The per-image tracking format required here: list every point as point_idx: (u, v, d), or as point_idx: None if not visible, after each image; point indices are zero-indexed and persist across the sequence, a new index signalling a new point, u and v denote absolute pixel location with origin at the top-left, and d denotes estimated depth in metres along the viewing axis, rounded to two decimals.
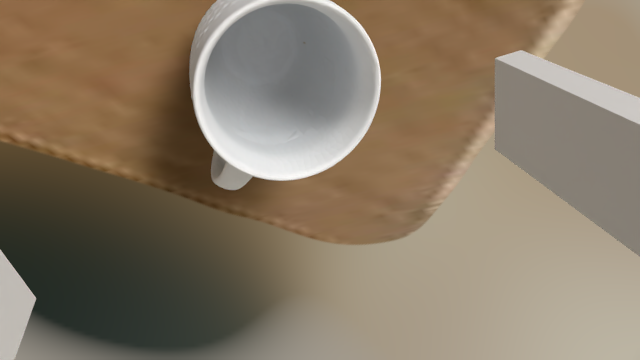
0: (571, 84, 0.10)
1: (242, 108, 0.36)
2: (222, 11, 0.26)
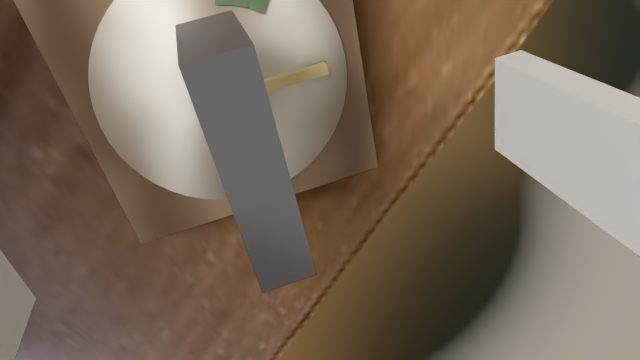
0: (571, 84, 0.10)
1: None
2: None
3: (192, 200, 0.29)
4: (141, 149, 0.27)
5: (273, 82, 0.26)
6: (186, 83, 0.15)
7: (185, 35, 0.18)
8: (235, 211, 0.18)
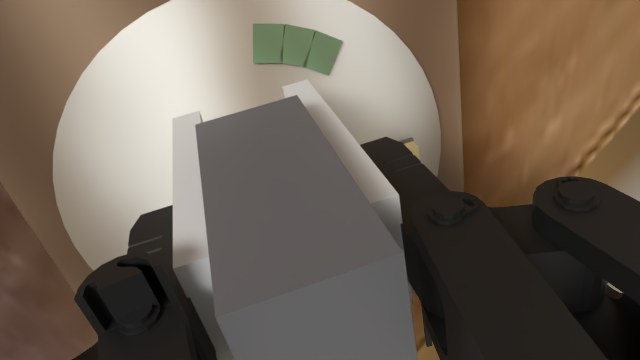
0: (312, 115, 0.11)
1: None
2: None
3: None
4: None
5: None
6: (233, 349, 0.06)
7: (218, 167, 0.09)
8: None
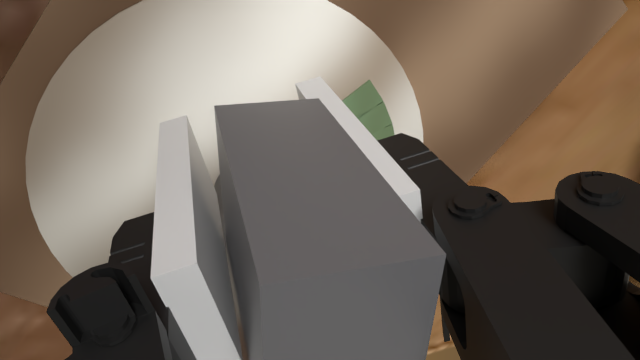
0: None
1: None
2: None
3: (49, 262, 0.17)
4: (69, 152, 0.15)
5: None
6: (264, 323, 0.06)
7: (244, 148, 0.09)
8: None
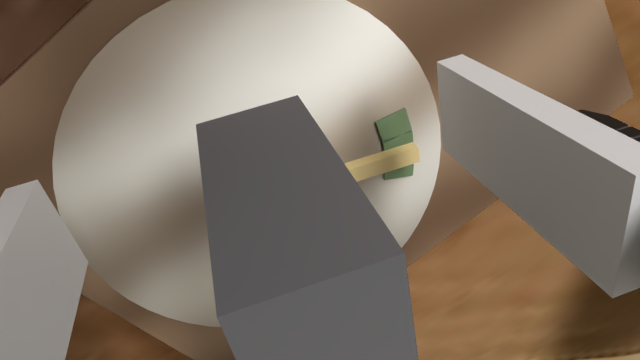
0: (498, 87, 0.11)
1: None
2: None
3: None
4: (108, 113, 0.15)
5: None
6: (234, 349, 0.06)
7: (219, 167, 0.09)
8: None
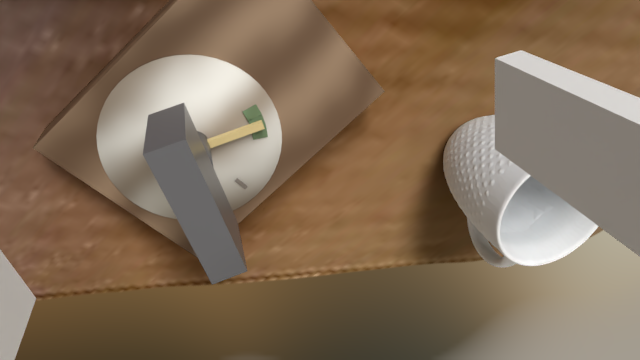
0: (571, 84, 0.10)
1: None
2: (495, 178, 0.38)
3: (96, 163, 0.36)
4: (119, 114, 0.35)
5: (225, 137, 0.36)
6: (148, 163, 0.26)
7: (151, 126, 0.29)
8: (187, 233, 0.28)
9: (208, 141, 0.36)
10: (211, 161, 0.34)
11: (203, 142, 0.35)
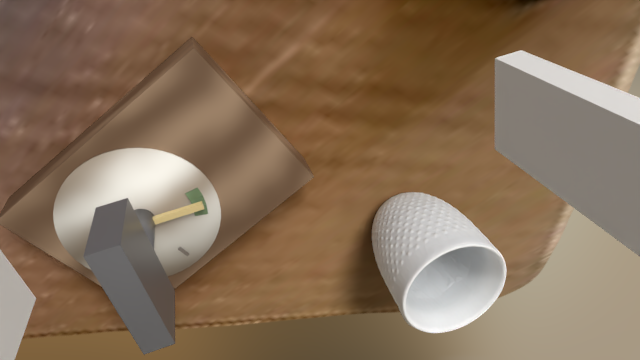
0: (571, 84, 0.10)
1: None
2: (404, 259, 0.44)
3: (52, 234, 0.41)
4: (73, 195, 0.40)
5: (168, 216, 0.42)
6: (88, 263, 0.31)
7: (96, 223, 0.34)
8: (121, 315, 0.34)
9: (153, 219, 0.42)
10: (152, 242, 0.39)
11: (147, 222, 0.41)
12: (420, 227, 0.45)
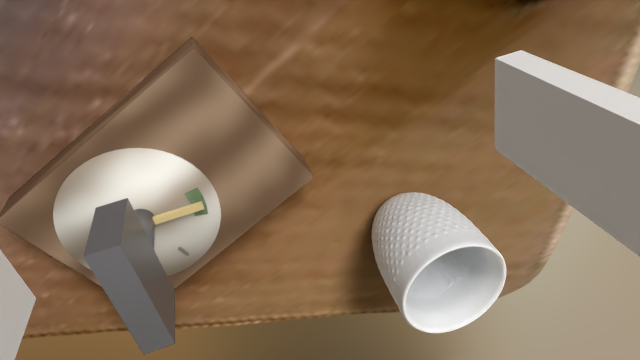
0: (571, 84, 0.10)
1: None
2: (404, 259, 0.44)
3: (52, 234, 0.41)
4: (73, 195, 0.40)
5: (168, 216, 0.42)
6: (88, 263, 0.31)
7: (96, 223, 0.34)
8: (121, 315, 0.34)
9: (153, 219, 0.42)
10: (152, 242, 0.39)
11: (147, 222, 0.41)
12: (420, 227, 0.45)
